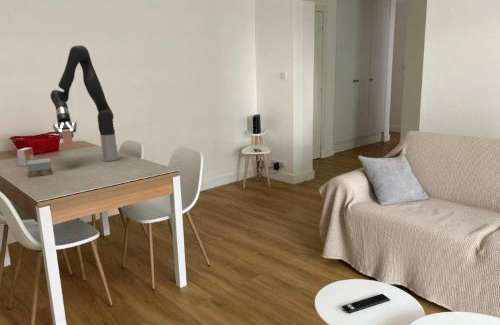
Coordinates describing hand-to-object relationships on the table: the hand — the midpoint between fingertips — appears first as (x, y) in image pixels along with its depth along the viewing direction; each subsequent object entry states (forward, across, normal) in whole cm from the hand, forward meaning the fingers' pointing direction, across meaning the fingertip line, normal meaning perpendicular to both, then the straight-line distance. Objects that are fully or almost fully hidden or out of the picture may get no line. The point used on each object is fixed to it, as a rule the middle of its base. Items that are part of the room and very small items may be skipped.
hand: (67, 137), depth 257 cm
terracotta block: (+3, 0, +5) cm, 6 cm away
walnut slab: (+17, -18, +11) cm, 27 cm away
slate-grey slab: (+14, -17, +8) cm, 24 cm away
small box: (-7, -26, +34) cm, 43 cm away
